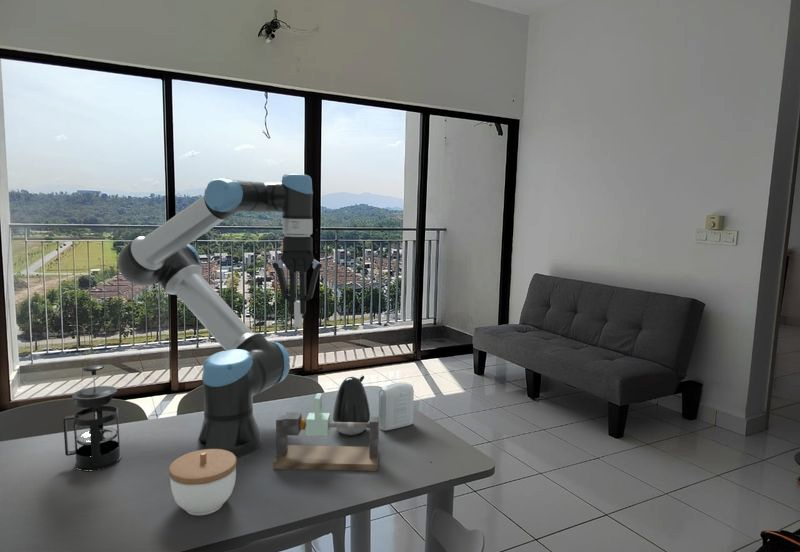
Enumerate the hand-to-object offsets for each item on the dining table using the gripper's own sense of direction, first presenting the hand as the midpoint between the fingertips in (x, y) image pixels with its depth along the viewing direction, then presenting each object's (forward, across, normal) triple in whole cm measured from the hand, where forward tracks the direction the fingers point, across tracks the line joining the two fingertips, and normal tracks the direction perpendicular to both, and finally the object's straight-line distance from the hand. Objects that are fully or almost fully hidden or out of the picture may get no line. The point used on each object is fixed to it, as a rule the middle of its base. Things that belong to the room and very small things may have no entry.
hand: (298, 325), depth 136 cm
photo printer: (+30, +26, +6) cm, 40 cm away
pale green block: (+22, +8, -15) cm, 28 cm away
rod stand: (+29, +10, -15) cm, 34 cm away
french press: (+30, -44, -18) cm, 56 cm away
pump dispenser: (+30, +14, +2) cm, 33 cm away
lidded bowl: (+30, -12, -35) cm, 47 cm away
